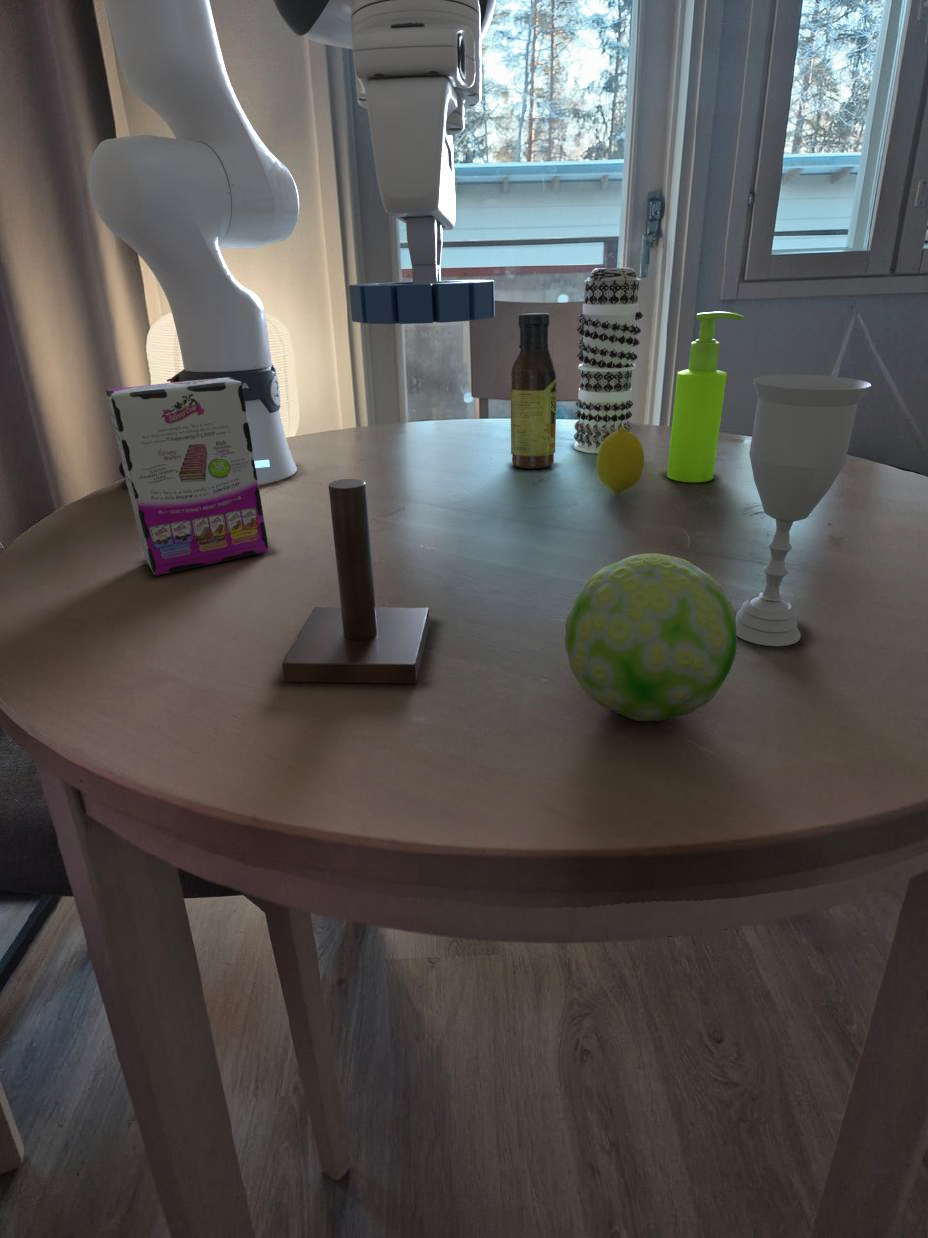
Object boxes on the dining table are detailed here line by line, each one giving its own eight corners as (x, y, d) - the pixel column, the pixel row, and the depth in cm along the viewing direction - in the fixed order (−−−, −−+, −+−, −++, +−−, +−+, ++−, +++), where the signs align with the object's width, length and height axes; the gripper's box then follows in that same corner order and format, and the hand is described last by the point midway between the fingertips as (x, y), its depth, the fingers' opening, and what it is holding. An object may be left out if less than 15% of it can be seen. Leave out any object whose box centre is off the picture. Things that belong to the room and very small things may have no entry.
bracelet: (340, 325, 49) (336, 286, 48) (367, 315, 58) (364, 282, 57) (492, 321, 48) (492, 281, 47) (495, 311, 57) (495, 278, 56)
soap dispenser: (721, 484, 91) (744, 313, 82) (664, 480, 93) (682, 313, 84) (721, 473, 96) (744, 310, 87) (668, 470, 98) (685, 310, 89)
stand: (284, 682, 48) (257, 503, 43) (316, 623, 57) (297, 466, 51) (416, 684, 48) (406, 503, 42) (429, 624, 56) (422, 466, 51)
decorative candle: (595, 438, 117) (606, 268, 106) (643, 447, 111) (659, 266, 100) (559, 447, 111) (566, 268, 100) (607, 457, 105) (620, 267, 94)
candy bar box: (255, 539, 75) (229, 375, 68) (270, 553, 71) (245, 380, 64) (142, 561, 70) (101, 386, 63) (152, 577, 66) (110, 393, 59)
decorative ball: (737, 763, 40) (767, 598, 35) (556, 747, 41) (564, 588, 37) (713, 674, 48) (735, 533, 44) (565, 663, 50) (572, 527, 46)
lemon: (641, 501, 85) (647, 433, 81) (593, 499, 86) (598, 432, 82) (640, 488, 90) (646, 423, 86) (595, 487, 91) (599, 422, 87)
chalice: (837, 645, 52) (898, 385, 44) (757, 659, 50) (805, 392, 42) (771, 605, 58) (813, 372, 50) (697, 616, 56) (730, 377, 49)
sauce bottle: (560, 469, 99) (566, 313, 91) (516, 471, 98) (518, 315, 90) (547, 458, 105) (552, 311, 96) (505, 460, 104) (506, 312, 96)
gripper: (393, 107, 60) (404, 289, 66) (345, 30, 41) (366, 294, 47) (469, 104, 59) (472, 287, 65) (455, 25, 41) (461, 291, 47)
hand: (427, 290), depth 56 cm, fingers closed on bracelet, 2 cm apart
